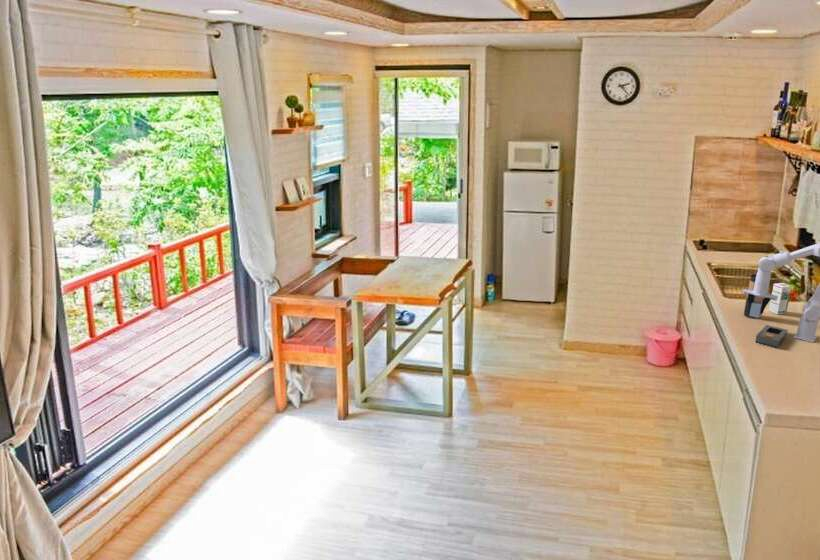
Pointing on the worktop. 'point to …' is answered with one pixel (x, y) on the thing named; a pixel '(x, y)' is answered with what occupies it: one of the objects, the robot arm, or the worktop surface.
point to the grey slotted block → (771, 336)
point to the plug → (756, 309)
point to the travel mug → (747, 308)
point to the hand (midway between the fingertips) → (756, 311)
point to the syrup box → (780, 298)
